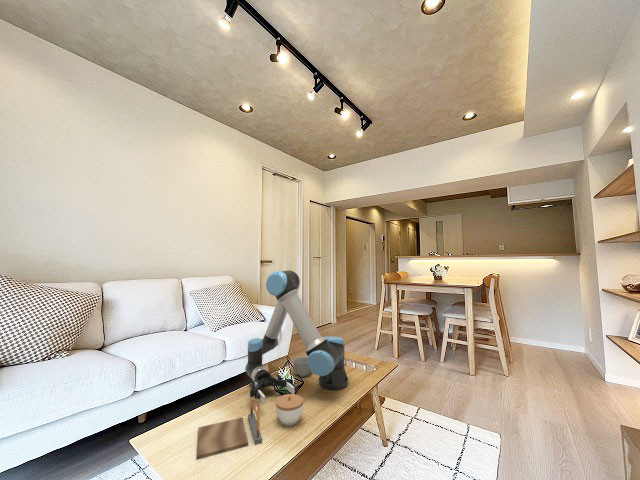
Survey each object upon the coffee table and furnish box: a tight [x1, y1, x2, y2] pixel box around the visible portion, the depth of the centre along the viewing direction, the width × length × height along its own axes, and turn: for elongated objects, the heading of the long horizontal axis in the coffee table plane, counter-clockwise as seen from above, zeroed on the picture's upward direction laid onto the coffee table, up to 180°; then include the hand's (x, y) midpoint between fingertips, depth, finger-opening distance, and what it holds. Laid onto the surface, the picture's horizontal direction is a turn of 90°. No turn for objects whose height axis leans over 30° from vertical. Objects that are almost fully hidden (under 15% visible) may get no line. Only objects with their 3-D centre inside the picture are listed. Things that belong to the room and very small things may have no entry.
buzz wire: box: [249, 396, 260, 437], centre depth 100 cm, size 1×15×10 cm, turn 23°
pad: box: [196, 416, 249, 460], centre depth 95 cm, size 16×16×1 cm
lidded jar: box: [275, 393, 304, 427], centre depth 105 cm, size 11×11×9 cm
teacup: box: [292, 355, 312, 377], centre depth 150 cm, size 14×11×8 cm
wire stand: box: [247, 412, 263, 446], centre depth 100 cm, size 2×17×1 cm, turn 23°
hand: (279, 395), depth 113 cm, fingers open, 13 cm apart
